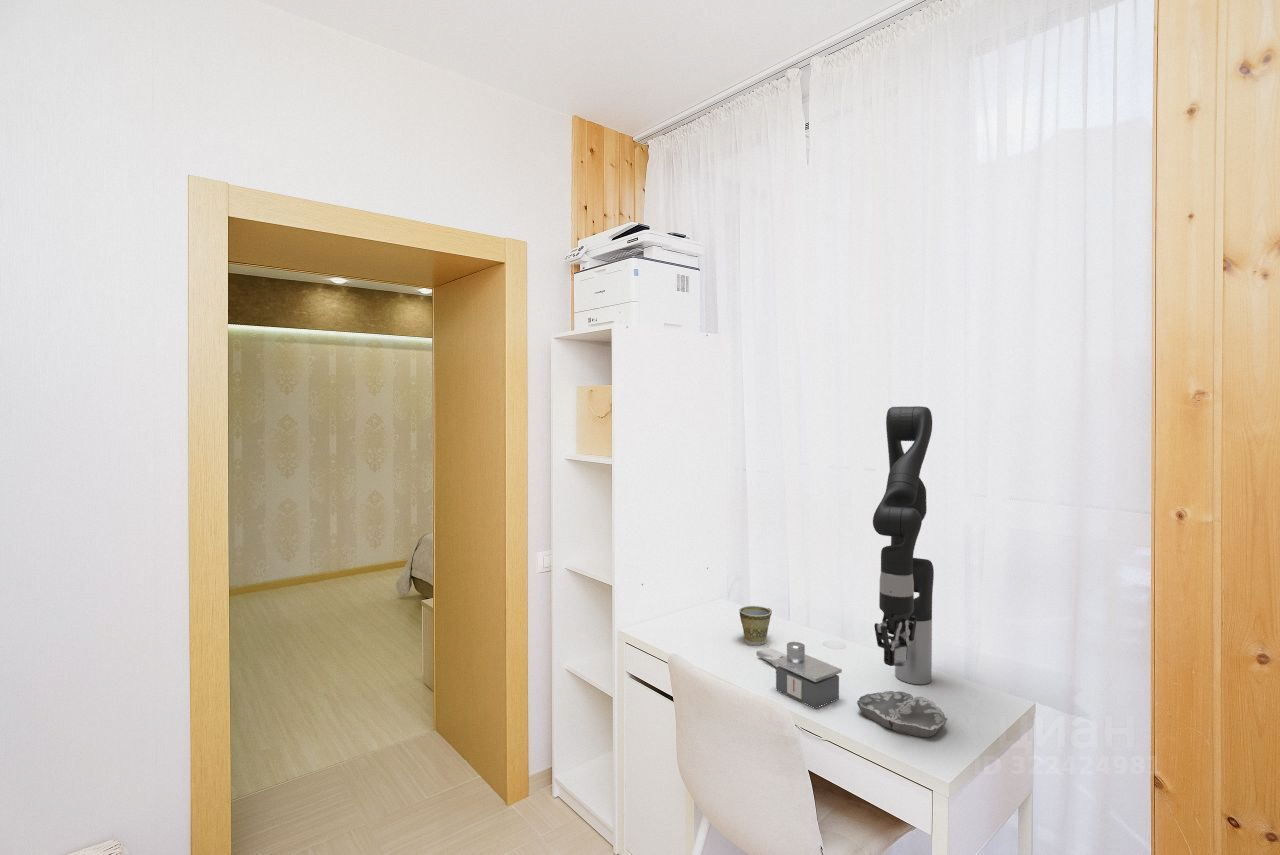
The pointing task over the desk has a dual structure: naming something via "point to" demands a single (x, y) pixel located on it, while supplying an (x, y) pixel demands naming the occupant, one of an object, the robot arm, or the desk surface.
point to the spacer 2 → (899, 654)
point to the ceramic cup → (755, 623)
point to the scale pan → (809, 668)
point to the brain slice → (903, 713)
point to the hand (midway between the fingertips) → (895, 662)
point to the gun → (770, 655)
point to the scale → (807, 687)
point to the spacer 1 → (795, 652)
